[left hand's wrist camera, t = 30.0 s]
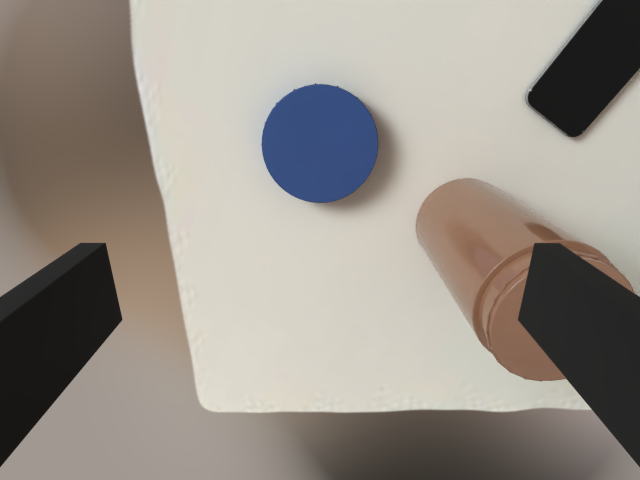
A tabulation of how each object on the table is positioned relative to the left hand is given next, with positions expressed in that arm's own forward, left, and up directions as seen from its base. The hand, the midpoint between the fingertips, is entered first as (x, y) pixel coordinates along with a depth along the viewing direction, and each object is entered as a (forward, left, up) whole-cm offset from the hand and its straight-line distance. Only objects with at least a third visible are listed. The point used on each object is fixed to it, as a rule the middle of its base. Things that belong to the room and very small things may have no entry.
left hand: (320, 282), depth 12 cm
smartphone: (-24, +15, -30) cm, 41 cm away
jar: (-3, +18, -30) cm, 35 cm away
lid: (0, 0, -28) cm, 28 cm away
